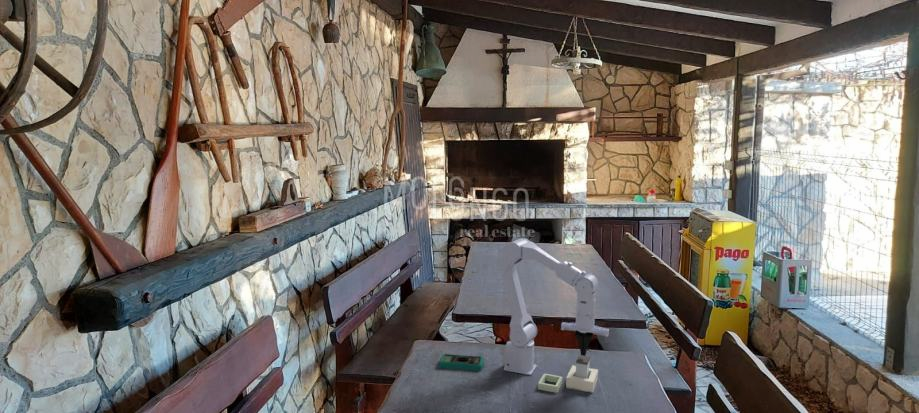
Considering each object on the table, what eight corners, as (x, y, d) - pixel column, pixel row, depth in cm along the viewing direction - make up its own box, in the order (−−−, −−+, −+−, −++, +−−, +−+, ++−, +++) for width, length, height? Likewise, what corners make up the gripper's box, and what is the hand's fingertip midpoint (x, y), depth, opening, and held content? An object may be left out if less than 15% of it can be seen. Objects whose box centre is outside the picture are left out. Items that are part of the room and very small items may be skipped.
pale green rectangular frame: (537, 389, 176) (538, 383, 176) (543, 379, 183) (543, 373, 183) (557, 392, 174) (557, 386, 173) (562, 382, 181) (562, 376, 180)
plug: (575, 384, 178) (576, 360, 177) (577, 378, 183) (579, 354, 182) (586, 386, 177) (587, 362, 176) (588, 380, 181) (590, 356, 180)
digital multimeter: (482, 372, 188) (482, 364, 188) (438, 369, 190) (438, 361, 190) (484, 363, 195) (484, 355, 195) (442, 360, 197) (442, 352, 197)
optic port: (566, 387, 177) (566, 376, 176) (572, 375, 186) (572, 364, 185) (592, 393, 174) (593, 381, 173) (597, 379, 183) (598, 368, 182)
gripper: (559, 313, 176) (558, 355, 177) (607, 320, 170) (605, 363, 172) (564, 307, 182) (562, 347, 184) (610, 313, 177) (608, 354, 179)
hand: (583, 354), depth 178 cm, fingers closed
